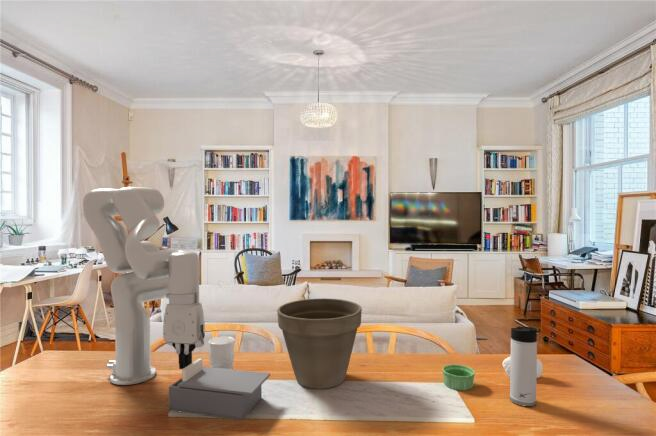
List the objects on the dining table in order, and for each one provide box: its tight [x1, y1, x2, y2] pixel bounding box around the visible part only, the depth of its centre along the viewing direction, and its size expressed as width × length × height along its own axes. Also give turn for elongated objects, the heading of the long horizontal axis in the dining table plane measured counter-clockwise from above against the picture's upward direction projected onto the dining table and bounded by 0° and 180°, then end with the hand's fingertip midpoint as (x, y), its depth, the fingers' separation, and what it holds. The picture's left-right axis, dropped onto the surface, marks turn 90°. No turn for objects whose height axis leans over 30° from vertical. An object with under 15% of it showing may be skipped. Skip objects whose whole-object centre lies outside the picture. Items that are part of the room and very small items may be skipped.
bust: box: [502, 355, 544, 379], centre depth 127 cm, size 12×8×11 cm
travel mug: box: [509, 326, 538, 407], centre depth 109 cm, size 6×7×20 cm
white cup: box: [208, 335, 236, 370], centre depth 129 cm, size 8×8×10 cm
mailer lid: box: [178, 357, 271, 395], centre depth 107 cm, size 20×12×4 cm, turn 76°
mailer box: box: [168, 377, 263, 421], centre depth 108 cm, size 20×12×6 cm, turn 76°
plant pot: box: [276, 297, 363, 390], centre depth 124 cm, size 25×25×22 cm
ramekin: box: [441, 363, 476, 392], centre depth 120 cm, size 9×9×4 cm
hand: (185, 367), depth 110 cm, fingers closed
